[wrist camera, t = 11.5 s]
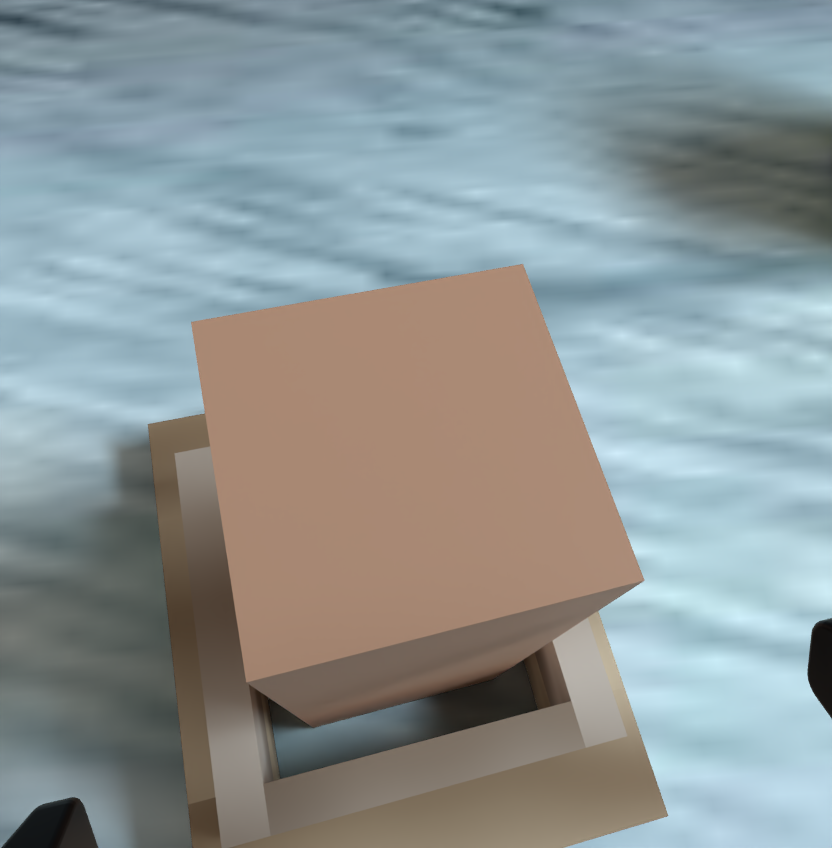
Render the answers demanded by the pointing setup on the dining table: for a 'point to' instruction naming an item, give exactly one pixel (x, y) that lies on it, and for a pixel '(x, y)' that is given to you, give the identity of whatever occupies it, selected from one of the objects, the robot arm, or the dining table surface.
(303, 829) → the plate
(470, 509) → the terracotta peg
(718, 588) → the dining table surface
